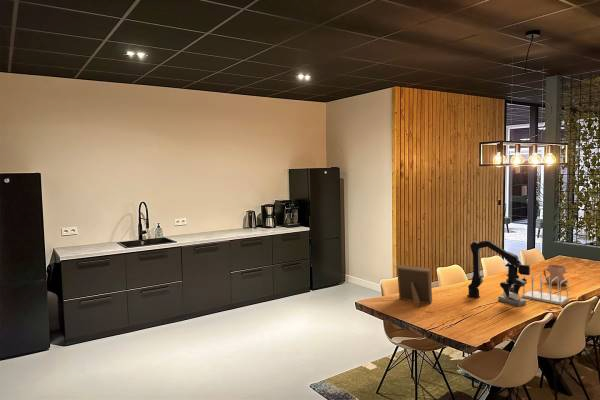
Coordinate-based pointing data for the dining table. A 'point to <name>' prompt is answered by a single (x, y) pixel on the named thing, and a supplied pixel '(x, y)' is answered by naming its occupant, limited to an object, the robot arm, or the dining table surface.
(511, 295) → the white arch block
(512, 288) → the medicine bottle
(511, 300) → the grey base block
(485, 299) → the dining table surface
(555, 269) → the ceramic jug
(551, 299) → the file sorter
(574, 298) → the dining table surface
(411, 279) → the photo frame
